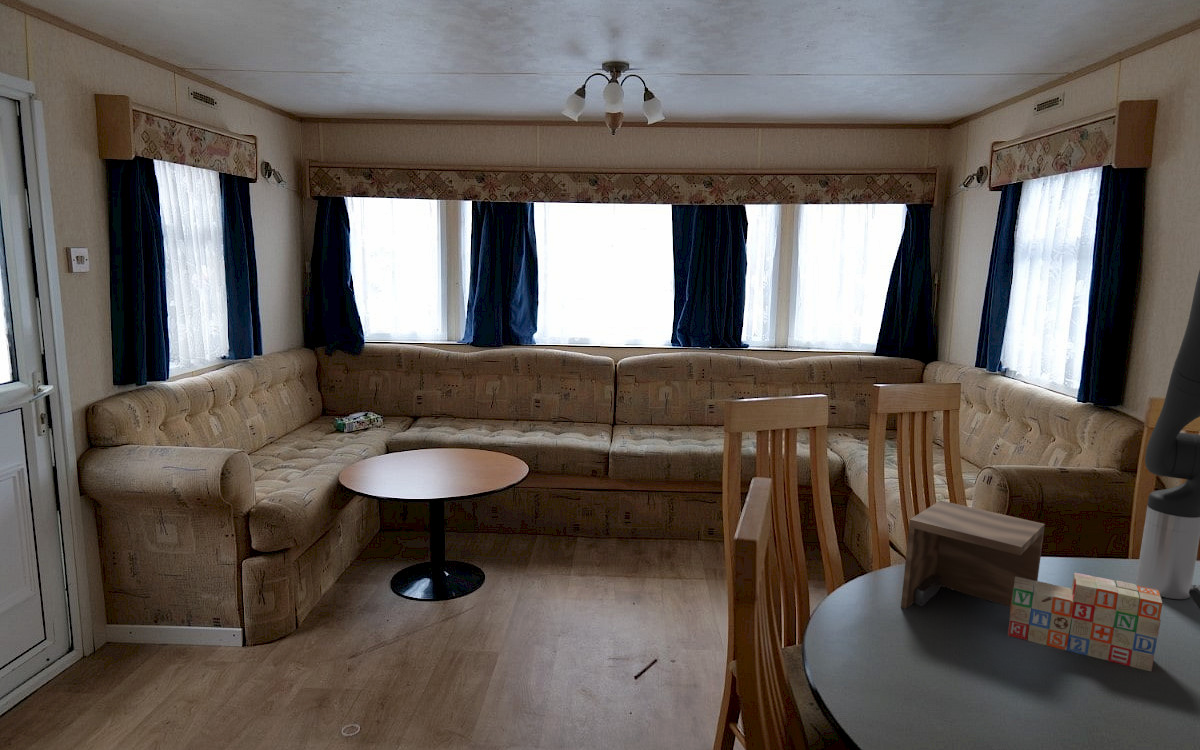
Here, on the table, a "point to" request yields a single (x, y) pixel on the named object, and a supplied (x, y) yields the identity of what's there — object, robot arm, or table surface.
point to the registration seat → (927, 590)
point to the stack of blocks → (1089, 618)
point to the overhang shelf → (971, 551)
